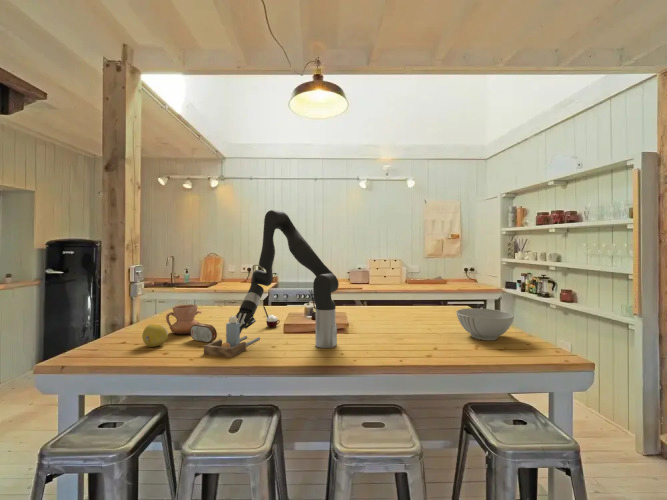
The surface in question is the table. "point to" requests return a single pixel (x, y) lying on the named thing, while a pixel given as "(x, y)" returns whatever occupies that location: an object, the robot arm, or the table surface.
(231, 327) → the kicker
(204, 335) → the tin
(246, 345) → the lane
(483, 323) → the decorative bowl
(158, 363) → the table surface
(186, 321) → the ceramic jug
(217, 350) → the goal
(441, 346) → the table surface
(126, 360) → the table surface
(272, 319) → the cocoa
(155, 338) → the fruit
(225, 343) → the ball
